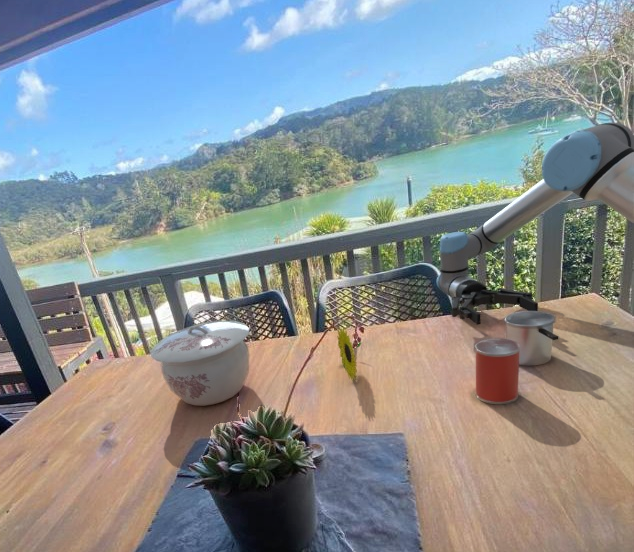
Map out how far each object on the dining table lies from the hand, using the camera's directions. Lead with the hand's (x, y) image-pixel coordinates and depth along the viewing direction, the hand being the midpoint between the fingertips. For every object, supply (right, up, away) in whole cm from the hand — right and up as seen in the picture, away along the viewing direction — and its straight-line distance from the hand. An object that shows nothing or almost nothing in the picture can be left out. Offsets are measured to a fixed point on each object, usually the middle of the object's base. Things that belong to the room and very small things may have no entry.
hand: (507, 314), depth 109 cm
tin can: (-13, -19, -16) cm, 28 cm away
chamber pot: (-74, -21, +15) cm, 78 cm away
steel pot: (+1, -12, -8) cm, 14 cm away
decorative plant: (-36, -13, +11) cm, 40 cm away
